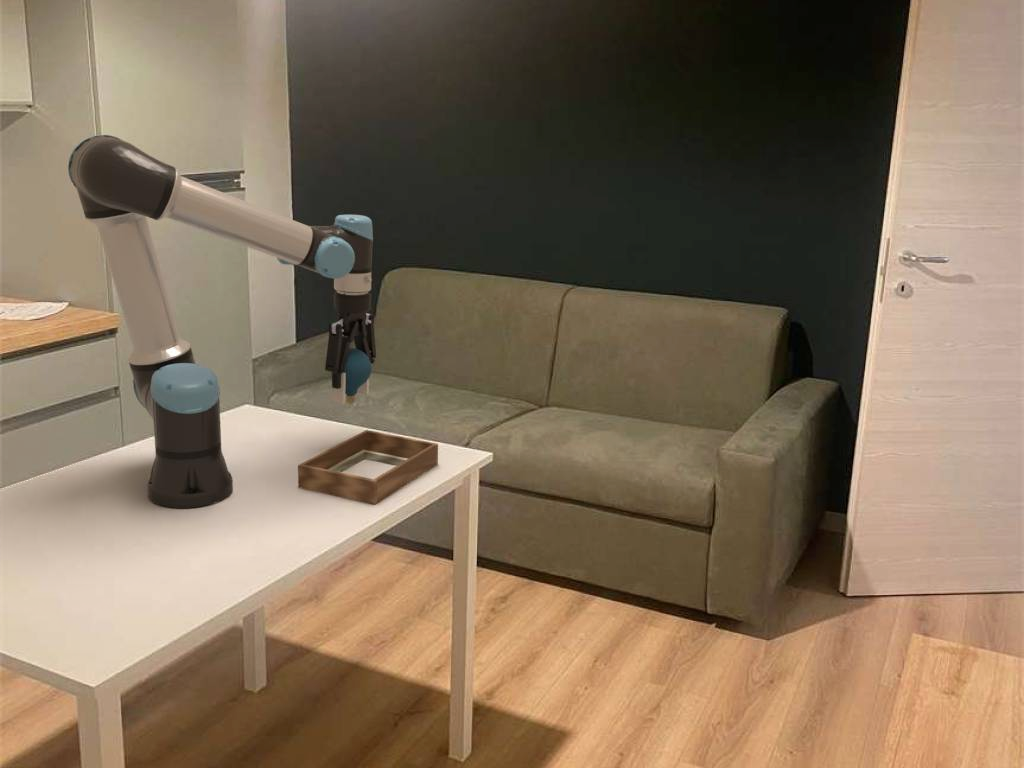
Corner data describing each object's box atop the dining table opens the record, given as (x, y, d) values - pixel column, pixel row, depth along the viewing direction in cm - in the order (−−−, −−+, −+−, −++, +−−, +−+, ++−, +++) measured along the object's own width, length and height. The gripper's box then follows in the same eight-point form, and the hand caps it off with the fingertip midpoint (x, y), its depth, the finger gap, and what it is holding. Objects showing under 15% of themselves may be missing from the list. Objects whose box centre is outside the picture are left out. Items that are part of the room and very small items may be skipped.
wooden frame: (298, 487, 200) (297, 465, 199) (366, 450, 221) (366, 429, 220) (374, 504, 194) (374, 481, 192) (437, 464, 215) (438, 443, 213)
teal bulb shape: (367, 410, 218) (368, 354, 215) (327, 408, 218) (327, 352, 215) (373, 399, 226) (374, 345, 223) (334, 397, 226) (335, 342, 223)
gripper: (339, 301, 205) (337, 412, 211) (395, 286, 224) (392, 389, 230) (307, 296, 208) (306, 406, 214) (365, 282, 226) (362, 383, 232)
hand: (350, 397), depth 222 cm, fingers closed on teal bulb shape, 8 cm apart
